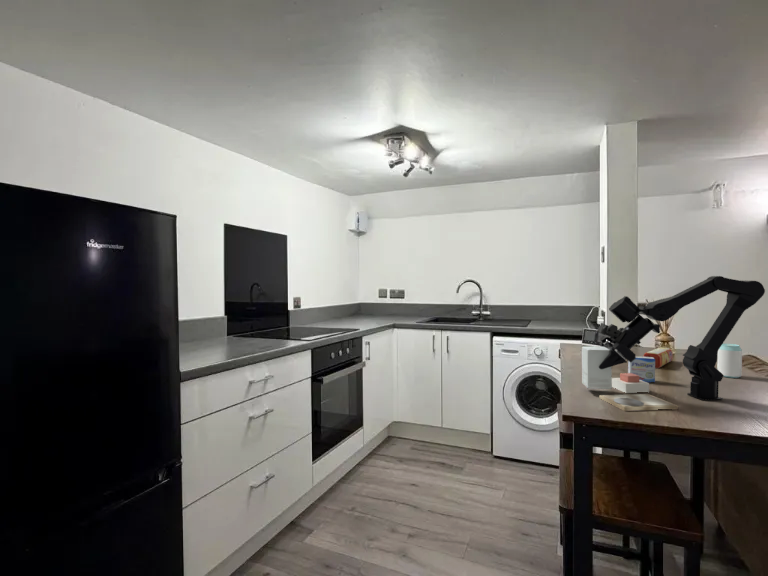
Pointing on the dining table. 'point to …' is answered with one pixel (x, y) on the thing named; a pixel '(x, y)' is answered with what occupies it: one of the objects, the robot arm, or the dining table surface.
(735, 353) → the can
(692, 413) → the dining table surface
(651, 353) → the snack package
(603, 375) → the supplement box
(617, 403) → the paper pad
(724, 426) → the dining table surface
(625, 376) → the button
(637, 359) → the medicine box
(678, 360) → the dining table surface
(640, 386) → the button housing
